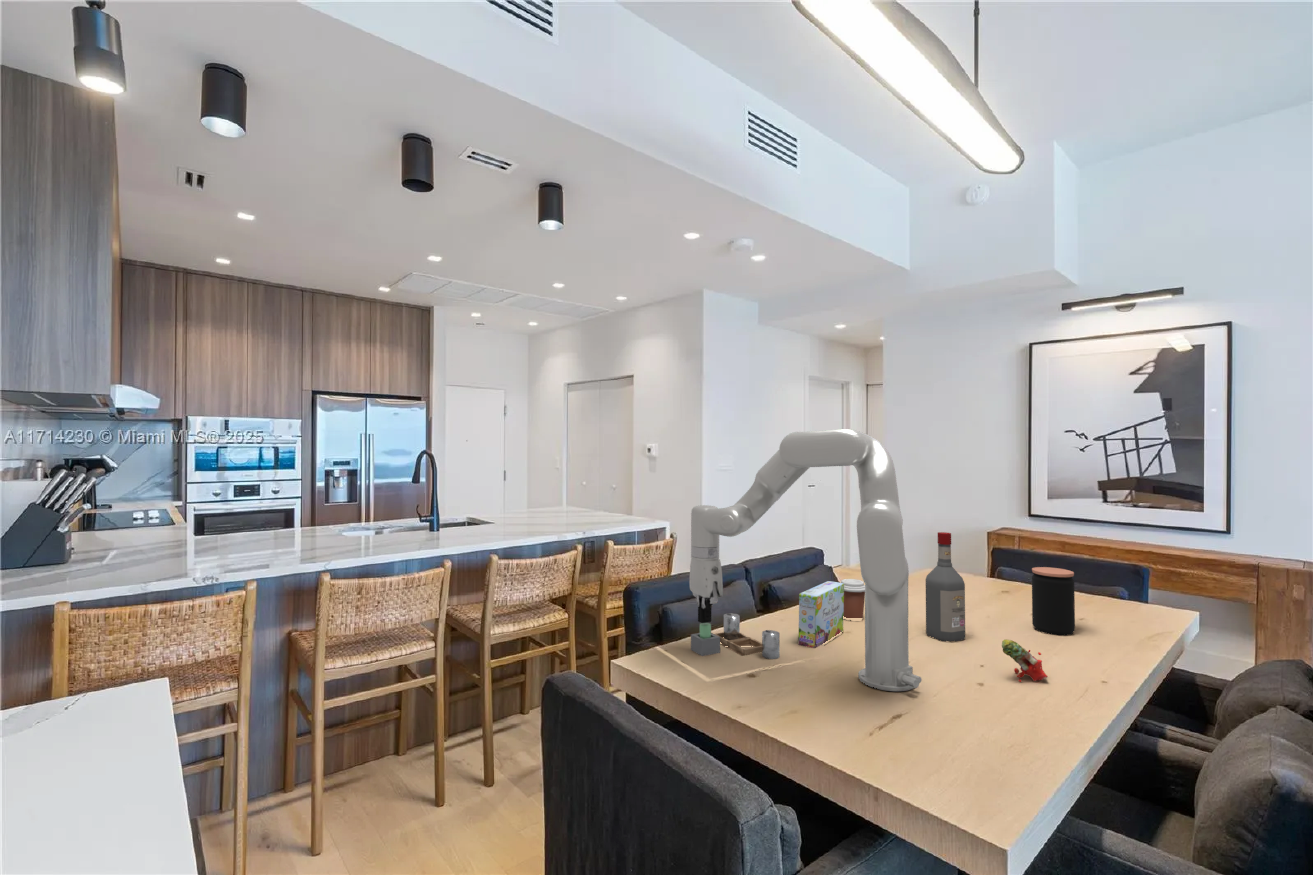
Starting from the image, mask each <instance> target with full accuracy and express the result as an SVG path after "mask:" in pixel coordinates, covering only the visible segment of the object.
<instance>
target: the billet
mask: <svg viewBox="0 0 1313 875" xmlns="http://www.w3.org/2000/svg"><path fill="white" fill-rule="evenodd" d="M780 640H781V639H780V632H779V631H777V630H772V629H771V630H770V629H766V630H763V631H762V632H761V641H762V642H761V643H762V652H761V654H762V658H764V659H767V660H777V659H780V657H781V656H780V648H781V647H780V646H781V645H780Z"/></svg>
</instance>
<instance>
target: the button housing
mask: <svg viewBox="0 0 1313 875" xmlns="http://www.w3.org/2000/svg"><path fill="white" fill-rule="evenodd" d="M715 634H716V633H712V632H711V637H710V638H704V639H703V638H701V637H700V632H698V633H691V634H690V650H691V651H692V652H694V653H696V654H697V655H699V656H701V657H705V656H710V655H714V654H720V653H721V645H720V637H719V636H717V635H715Z"/></svg>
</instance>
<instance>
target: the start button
mask: <svg viewBox="0 0 1313 875" xmlns="http://www.w3.org/2000/svg"><path fill="white" fill-rule="evenodd" d="M699 633H700V637H701V638H703V639H704V638H710V637H711V633H712V624H711V622H708V623H700V622H699Z"/></svg>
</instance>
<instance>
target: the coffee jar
mask: <svg viewBox="0 0 1313 875" xmlns="http://www.w3.org/2000/svg"><path fill="white" fill-rule="evenodd" d="M1031 571H1032V574H1033V575H1032V576H1031V617H1032V621H1031V622H1032V626H1033V628H1034V629H1035V630H1036V631H1038V632H1040V633H1044V634H1047V635H1052V636H1053V635H1054V636H1063V637H1064V636H1071V635H1072V634H1074V632H1075V631H1076V614H1075V613H1076V609H1075V605H1076V604H1075V603H1076V602H1075V599H1076V598H1075V580H1074V579H1073V577H1074V576H1075V572H1074V571H1073V570H1072V571H1071V570H1068V569H1065V568H1059V567H1058V568H1057V567H1049V566H1048V567H1047V566H1043V567H1042V566H1041V567H1040V566H1037V567H1036V566H1035V567H1032V568H1031Z"/></svg>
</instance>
